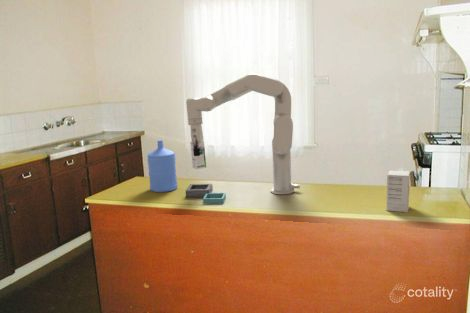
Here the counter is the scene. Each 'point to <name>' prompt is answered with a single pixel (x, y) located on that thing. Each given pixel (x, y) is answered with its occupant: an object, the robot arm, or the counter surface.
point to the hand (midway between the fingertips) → (198, 154)
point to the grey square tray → (198, 190)
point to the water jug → (162, 169)
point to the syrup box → (199, 157)
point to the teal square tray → (214, 198)
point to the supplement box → (398, 191)
